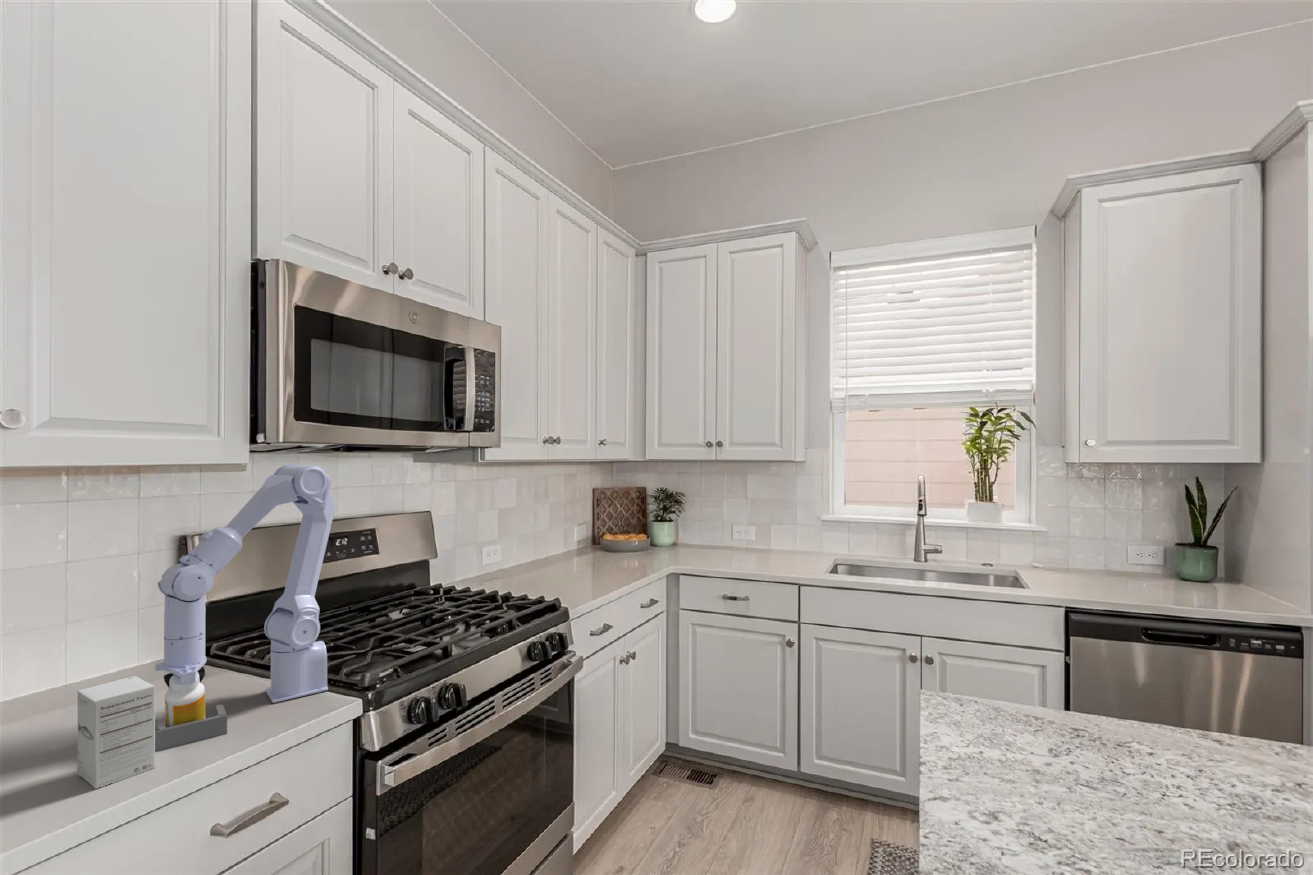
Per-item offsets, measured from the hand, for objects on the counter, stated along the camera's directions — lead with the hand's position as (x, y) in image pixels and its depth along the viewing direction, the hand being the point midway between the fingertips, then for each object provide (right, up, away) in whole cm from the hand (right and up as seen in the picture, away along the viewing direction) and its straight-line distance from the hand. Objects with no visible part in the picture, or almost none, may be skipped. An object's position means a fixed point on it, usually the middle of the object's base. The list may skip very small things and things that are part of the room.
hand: (184, 714), depth 110 cm
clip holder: (+3, -2, -3) cm, 5 cm away
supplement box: (+1, -2, -15) cm, 15 cm away
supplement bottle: (+2, -2, -2) cm, 3 cm away
